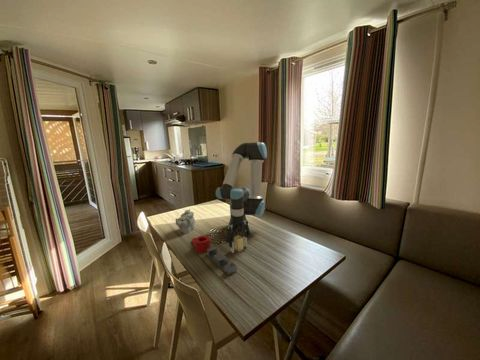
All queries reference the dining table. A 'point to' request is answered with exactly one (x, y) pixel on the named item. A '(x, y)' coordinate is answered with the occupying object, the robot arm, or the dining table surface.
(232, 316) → the dining table surface
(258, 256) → the dining table surface
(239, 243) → the nut block
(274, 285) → the dining table surface
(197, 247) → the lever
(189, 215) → the grey lumpy piece
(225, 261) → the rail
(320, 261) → the dining table surface
